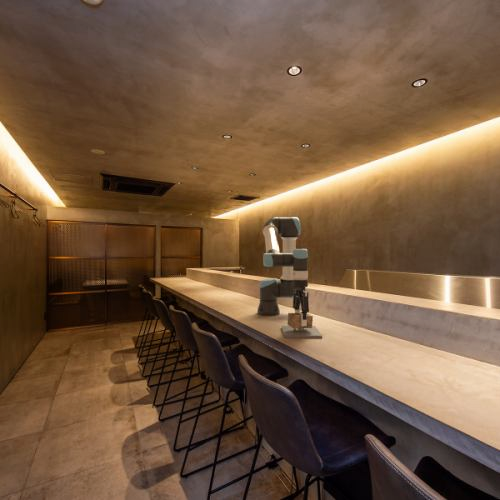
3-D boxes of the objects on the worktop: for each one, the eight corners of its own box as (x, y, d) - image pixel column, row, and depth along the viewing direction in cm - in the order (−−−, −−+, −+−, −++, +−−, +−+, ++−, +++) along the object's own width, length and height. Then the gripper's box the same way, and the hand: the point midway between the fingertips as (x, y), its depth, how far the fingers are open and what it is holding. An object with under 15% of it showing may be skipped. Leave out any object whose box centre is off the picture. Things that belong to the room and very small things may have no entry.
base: (281, 328, 157) (281, 313, 157) (315, 328, 156) (314, 313, 157) (284, 337, 139) (284, 321, 139) (322, 338, 138) (322, 321, 139)
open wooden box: (305, 324, 152) (306, 313, 152) (312, 328, 145) (312, 316, 146) (287, 324, 149) (288, 312, 150) (292, 327, 143) (293, 315, 143)
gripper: (286, 277, 157) (286, 320, 156) (301, 281, 137) (302, 329, 137) (299, 277, 158) (299, 319, 158) (316, 280, 139) (316, 328, 139)
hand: (300, 324), depth 148 cm, fingers closed on open wooden box, 7 cm apart
